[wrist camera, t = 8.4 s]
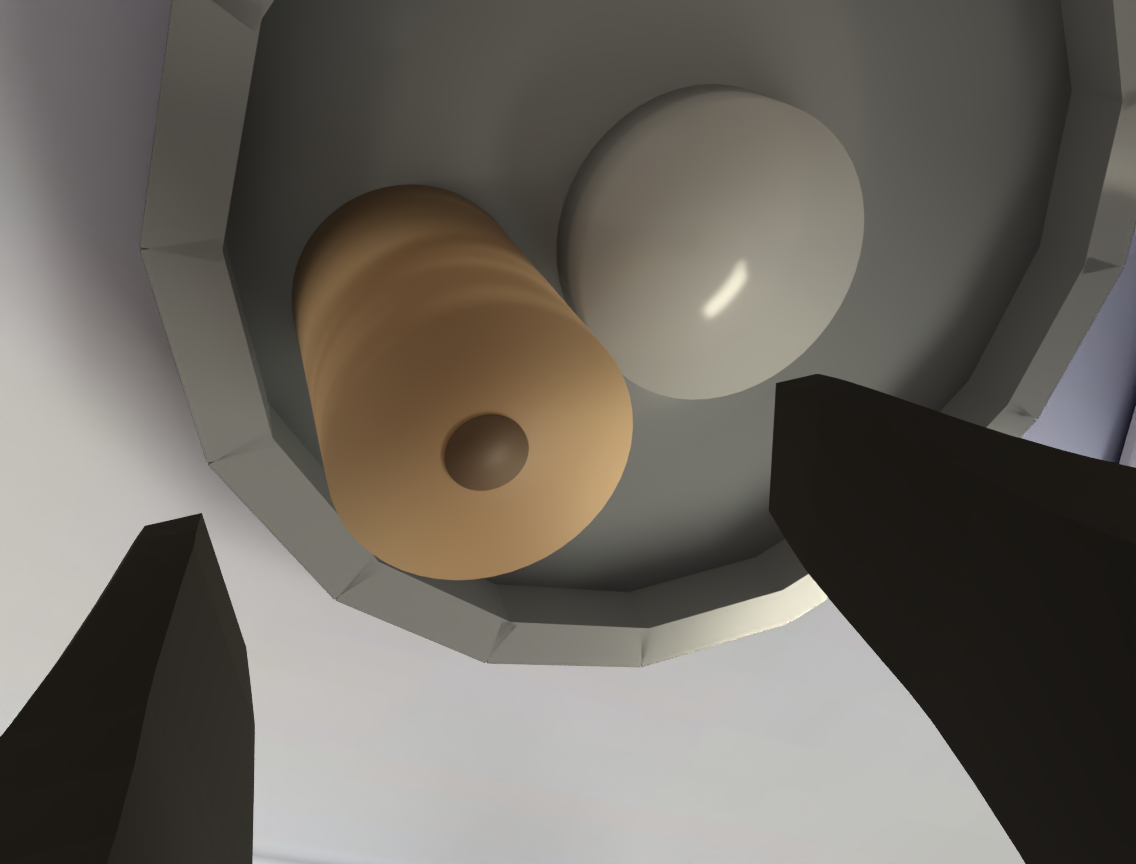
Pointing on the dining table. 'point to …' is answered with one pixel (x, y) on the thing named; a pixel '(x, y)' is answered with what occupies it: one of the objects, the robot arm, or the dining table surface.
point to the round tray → (504, 137)
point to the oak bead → (452, 388)
